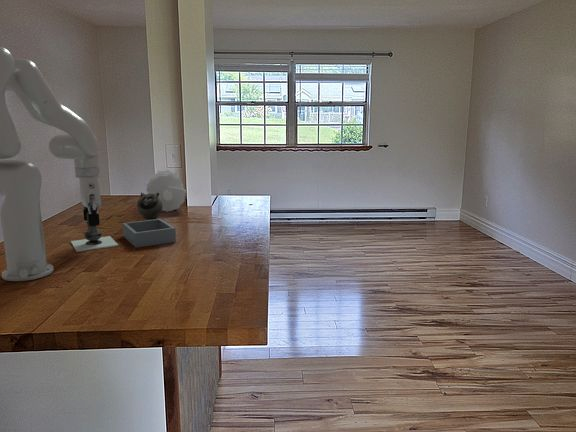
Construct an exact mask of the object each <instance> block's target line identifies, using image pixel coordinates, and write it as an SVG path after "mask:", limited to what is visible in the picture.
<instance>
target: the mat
mask: <svg viewBox="0 0 576 432" xmlns="http://www.w3.org/2000/svg"><path fill="white" fill-rule="evenodd" d="M98 240H100V241H102V243H101V244H97V245H86V244H85V243H86V242H87V241H89V240H87V239H86V238H84V239H76V240H70V243H71V245H72V247H73V248H74V250H75V251H76V253H78V252H85V251H94V250H101V249H107V248H114V247H118V246H119V244H118V243H117V242H116V241H115V239H114V238H113V237H112V236H110V235H108V236H101V237H100V239H98Z"/></svg>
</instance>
